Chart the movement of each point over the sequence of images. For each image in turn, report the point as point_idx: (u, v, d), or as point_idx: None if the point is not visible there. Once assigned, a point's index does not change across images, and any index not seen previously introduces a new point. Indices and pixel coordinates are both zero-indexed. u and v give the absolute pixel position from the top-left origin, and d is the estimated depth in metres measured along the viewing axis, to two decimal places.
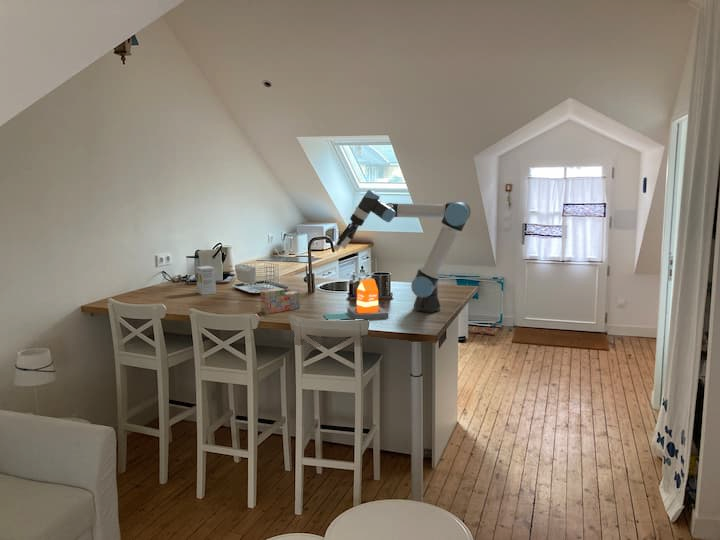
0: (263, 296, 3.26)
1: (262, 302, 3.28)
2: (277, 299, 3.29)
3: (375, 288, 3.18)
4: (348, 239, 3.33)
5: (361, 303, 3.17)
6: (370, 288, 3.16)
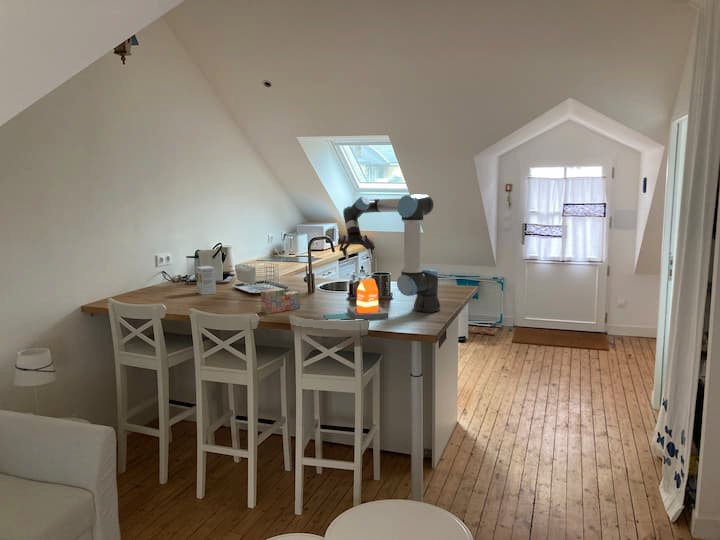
0: (264, 296, 3.26)
1: (263, 302, 3.28)
2: (278, 299, 3.29)
3: (375, 288, 3.18)
4: (368, 250, 3.36)
5: (361, 303, 3.17)
6: (370, 288, 3.16)
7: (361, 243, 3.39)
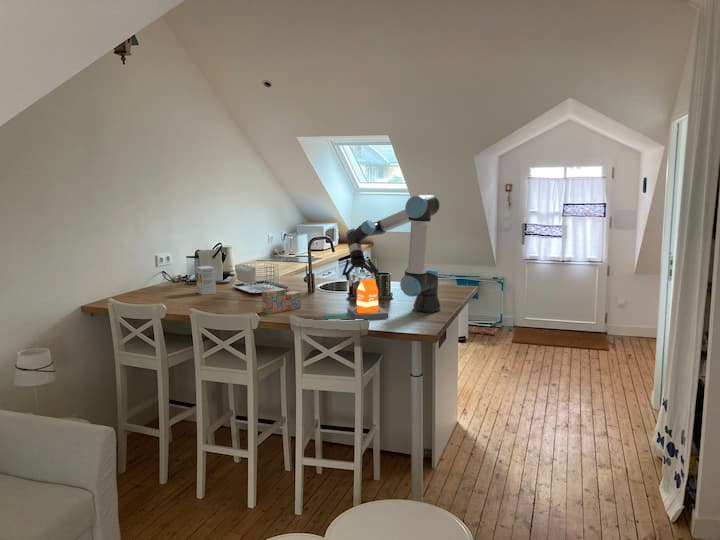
0: (265, 296, 3.26)
1: (264, 302, 3.28)
2: (279, 299, 3.29)
3: (375, 288, 3.18)
4: (372, 274, 3.29)
5: (361, 303, 3.17)
6: (370, 288, 3.16)
7: (364, 267, 3.32)
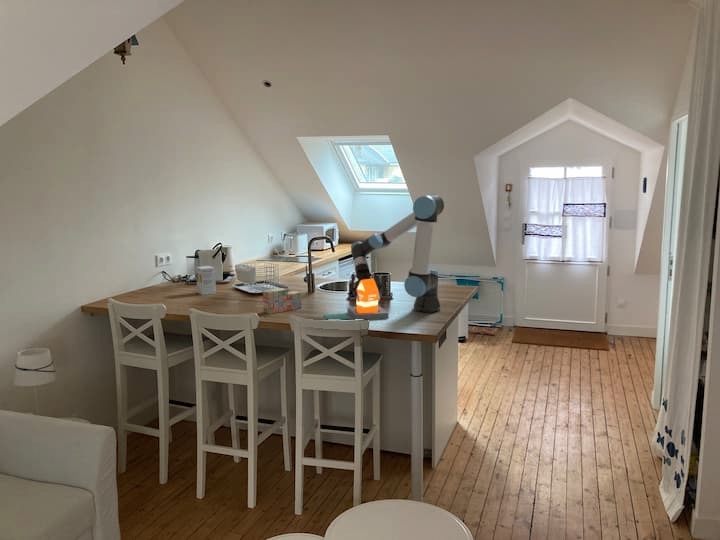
0: (266, 296, 3.26)
1: (265, 302, 3.27)
2: (280, 299, 3.29)
3: (375, 288, 3.18)
4: None
5: (361, 303, 3.17)
6: (369, 288, 3.16)
7: None
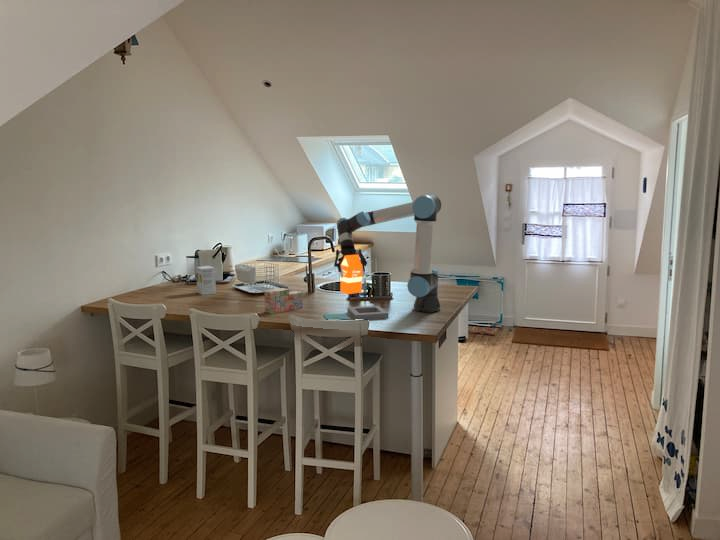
0: (268, 296, 3.26)
1: (266, 302, 3.27)
2: (282, 299, 3.29)
3: (359, 264, 3.15)
4: None
5: (344, 278, 3.14)
6: (353, 264, 3.13)
7: None
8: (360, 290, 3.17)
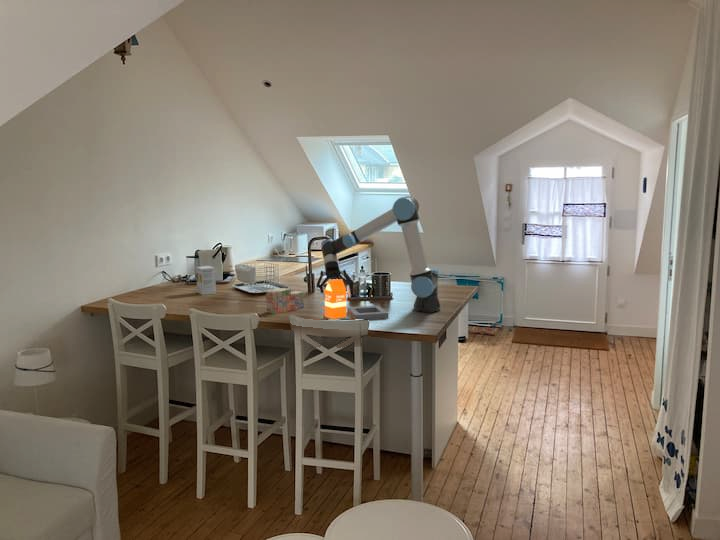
0: (270, 296, 3.25)
1: (268, 302, 3.27)
2: (283, 299, 3.29)
3: (343, 289, 3.13)
4: (347, 286, 3.17)
5: (329, 303, 3.13)
6: (337, 289, 3.11)
7: None
8: (345, 315, 3.16)
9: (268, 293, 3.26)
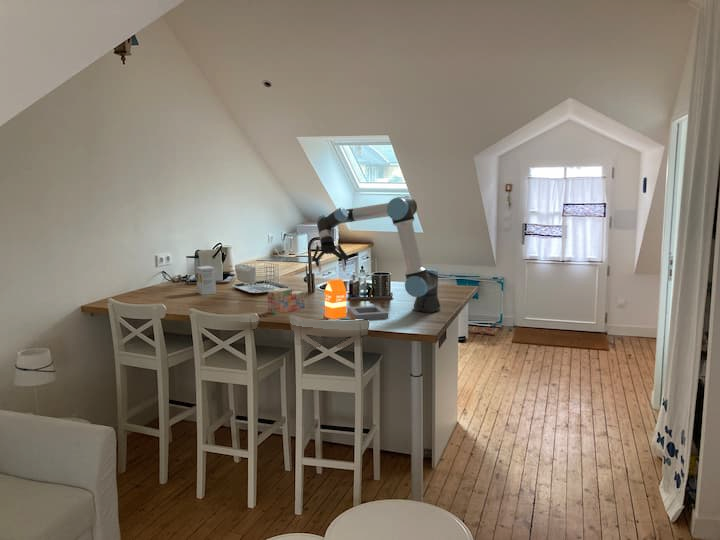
0: (271, 296, 3.25)
1: (270, 303, 3.27)
2: (285, 299, 3.29)
3: (343, 289, 3.13)
4: (342, 261, 3.28)
5: (329, 303, 3.13)
6: (337, 289, 3.11)
7: (335, 253, 3.31)
8: (345, 315, 3.16)
9: (270, 293, 3.26)
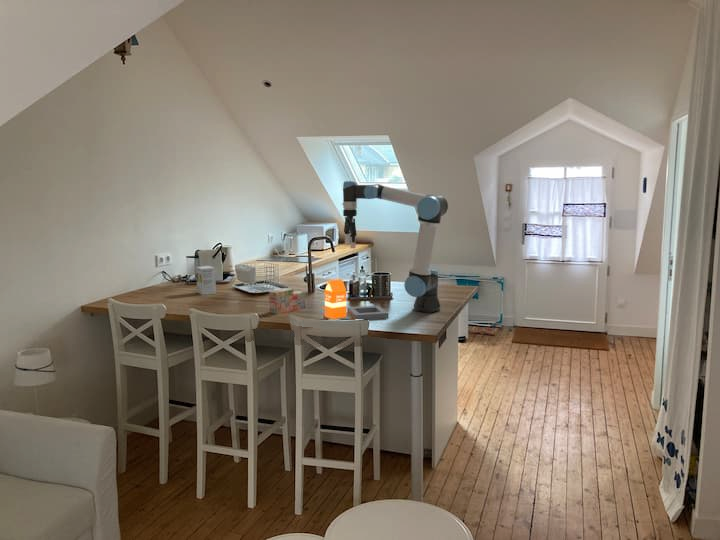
0: (273, 297, 3.25)
1: (272, 303, 3.26)
2: (286, 299, 3.29)
3: (343, 289, 3.13)
4: (348, 235, 3.42)
5: (329, 303, 3.13)
6: (337, 289, 3.11)
7: (348, 225, 3.38)
8: (345, 315, 3.16)
9: (271, 293, 3.26)
